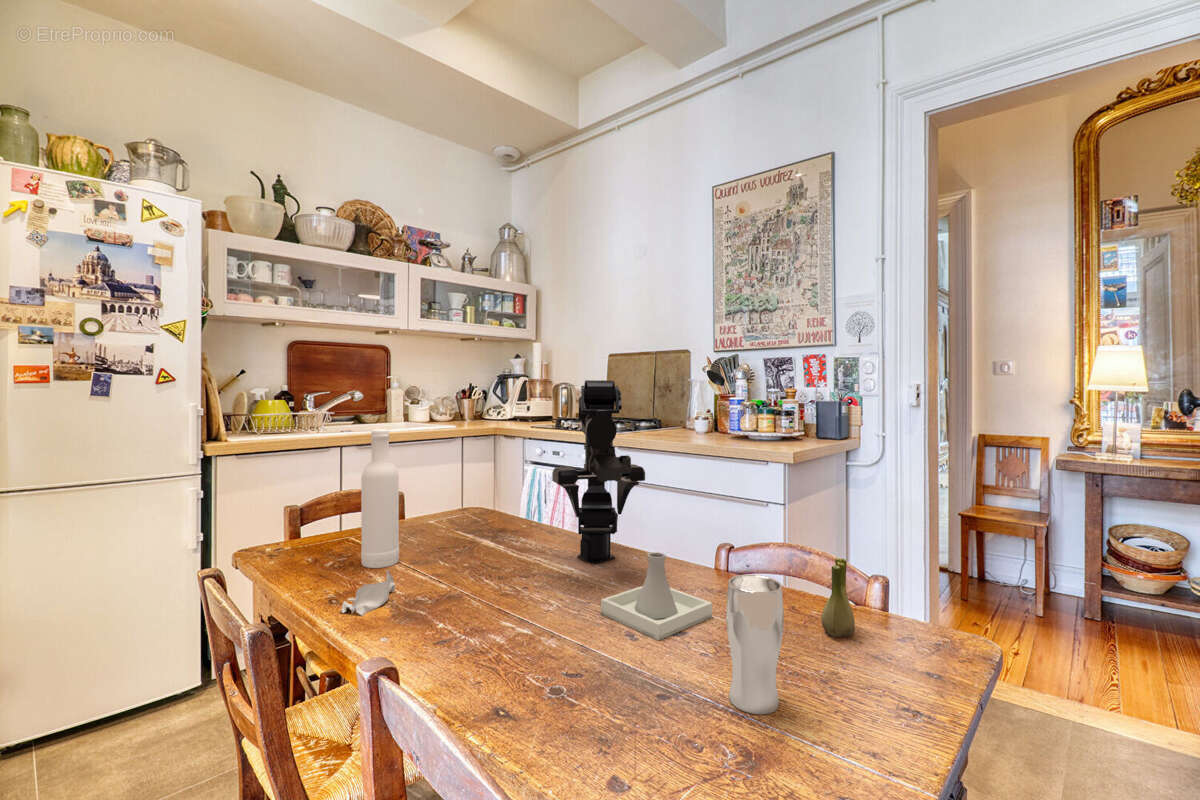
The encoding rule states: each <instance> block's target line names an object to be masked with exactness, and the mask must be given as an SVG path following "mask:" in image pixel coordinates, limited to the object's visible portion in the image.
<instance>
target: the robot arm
mask: <svg viewBox="0 0 1200 800" xmlns="http://www.w3.org/2000/svg"><path fill="white" fill-rule="evenodd" d="M615 384H616V383H615V381H614V380H598V379H597V380H596V379H595V380H592V379H591V380H589V379H588V380H587V379H586V380H584V385H581V386H580V387H581V388H580V390H581V391H580V393H581V394H580V397H579V398H578V422H580V425H581V427H580V430H581V432H583V435H585V437H584V438H585V441H584V442H585V443H584V444H583V450H585V451H584V452H585V455H584V456H585V457H584V458H585V461H584V462H585V463H583V469H584V470H583V469H582V470H577V469H576V468H574V467H572V466H560V467H559V466H558V467H554V469H553V470H552V476H551V477H552V478H551V479H552V482H553V483H555V484H557V485H559V486H560V487H561V488H563V489H564V490H565V492H566V494H567V496H568V498H569V501H570V503H571V507H572V510H573V512H574V515H575V517H576V518H577V520H578V521H577V523H578V524H577V526H578V527H577V530H578V534H577V535H581V539H580V543H579V544H580V545H579V546H580V547H579V549H580V550H579V551H580V553H579V554H578V555H576V557H577V559H580V560H583V561H585V562H588V563H590V564H593V565H595V564H600V563H603V562H607V561H608V562H609V561H611V560H614V559H616V556H615V555H613V554H611V535H615V533H617V532H618V518H619V515H622V513H623V510H624V508H625V505H626V502H627V499H628V496H629V494H630V493H631V490H632V489H633V488H634V487H635V486H639V485H640V482H643V481H644V482H645V481H646V471H645V469H644V467H642V466H640V465H638V464H632V457H631V456H630V455H628V454H627V455H619V456H617V455H616V449H615V448H616V447H615V446H614V439H615V438H616V436H617V432H618V430H617V425H616V423H615V421H614V419H613V414H620V411H621V410H622V409H623V408H622V407H623V406H622V405H623V403H622V392H621V390H620V388H619V386H618V385H615ZM578 480H587V489H586V491H584V492H583V495H582V496H581V506H580V501H579V500H580V499H579V490H580V489H579V488H580V485H579V484H577V482H578ZM611 481H612V482H613V481H615V482H616V488H617V489H616V508H615V507H613V498H612V494H611V493H610V491H608V490H607V489H606V485H605V484H606V482H611ZM616 509H617V511H616Z"/></svg>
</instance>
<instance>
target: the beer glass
mask: <svg viewBox="0 0 1200 800" xmlns="http://www.w3.org/2000/svg"><path fill="white" fill-rule="evenodd" d="M727 581H728V586H727V593H726V594H727V596H726V610H725V612H726V613H725V616H726V621H725V622H726V632H727V637H728V638H727V639H728V640H727V641H728V645H729V646H728V647H729V650H730V651H729V652H730V655H731V656H730V657H731V663H732V671H731V672H732V675H731V682H730V685H729V693H728V699H729V701H730V703H731V704H732V706H734V707H735V708H737V710H740V711H743V712H744V713H748V714H752V715H760V716H761V715H769V714H772V713H773V712H776V711H777V710H778V708H779V707H780V706H779V705H780V699H779V694H778V693H779V692H778V688H777V667H778V662H779V661H778V660H779V657H780V651H781V647H782V646H781V645H782V642H783V636H784V635H783V633H784V620H785V617H784V614H785V613H784V597H783V584H782V583H781V582H780V581H779V580H776V579H775V578H771V577H768V576H763V575H760V574H738V575H735V576H731V577H730V578H729V579H728V580H727Z"/></svg>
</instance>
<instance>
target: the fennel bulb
mask: <svg viewBox="0 0 1200 800" xmlns="http://www.w3.org/2000/svg"><path fill="white" fill-rule="evenodd" d="M849 601H850V600H849V597H848V593H847V559H845V558H841V557H839V558H835V565H831V595H829V598H828V599H827V601H826V603H825V605H824V608H823V610H822V613H821V616H820V618H821V619H820V620H821V621H820V622H821V625H822V628H823V629H824V631H825V633H826V634H828V635H830V636H832V637H836V638H837V637H839V638H843V637H848V638H849V637H851V636H852V635H854V633H855V630H856V628H855V626H856V624H855V623H856V622H855V616H854V611H853V609H852V606H851V604H850V602H849Z"/></svg>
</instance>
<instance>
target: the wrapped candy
mask: <svg viewBox="0 0 1200 800" xmlns="http://www.w3.org/2000/svg"><path fill="white" fill-rule="evenodd" d="M390 572H391V571H390V569H387V570H386V575H385V576H386V578H385V581H380V582H376V583H375V582H374V583H368V584H363V585H362V586H361V587H358V588H357V589H356V592H355V598H354V597H350V598H349V597H348V598H347V601H346V600H344V601H343V602H342V605H341V610H340V611H339V613H340V614H344V613H346V612H347V610H350V611H351V615H353V614H354V613H355V612H356V613H357V614H358V615H360V616H361V617H363V616H364V615H366V613H369V612H371V611H373V610H376V609H377V608H379V607H381V606H383V605H384V604H385V603H386V602H387V601H388V599H389V594H390V592H392V593H394V592H395V591H396V584H395V583H394V581H395V579H394V576H393V575H392V574H391V573H390ZM349 601H351V602H352V603H349Z"/></svg>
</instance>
